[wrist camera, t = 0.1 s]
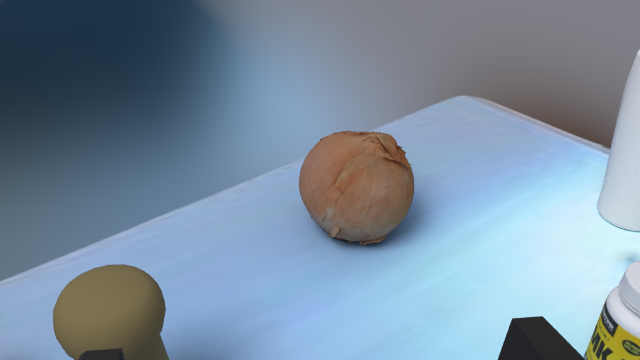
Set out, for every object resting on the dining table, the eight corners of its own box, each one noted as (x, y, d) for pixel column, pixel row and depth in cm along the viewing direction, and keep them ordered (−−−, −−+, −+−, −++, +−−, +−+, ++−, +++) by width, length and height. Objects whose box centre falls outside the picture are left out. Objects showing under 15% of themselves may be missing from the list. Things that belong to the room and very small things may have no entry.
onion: (389, 246, 54) (451, 159, 50) (350, 284, 46) (420, 183, 42) (309, 184, 56) (362, 96, 52) (258, 210, 48) (315, 107, 44)
